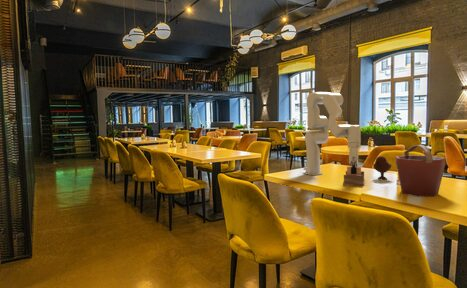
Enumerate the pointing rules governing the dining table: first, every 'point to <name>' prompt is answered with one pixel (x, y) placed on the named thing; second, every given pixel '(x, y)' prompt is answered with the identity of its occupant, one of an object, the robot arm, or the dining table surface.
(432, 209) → the dining table surface
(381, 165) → the ice cream bowl
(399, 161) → the bucket
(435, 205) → the dining table surface
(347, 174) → the tile
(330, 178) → the dining table surface
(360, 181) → the rack
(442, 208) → the dining table surface
